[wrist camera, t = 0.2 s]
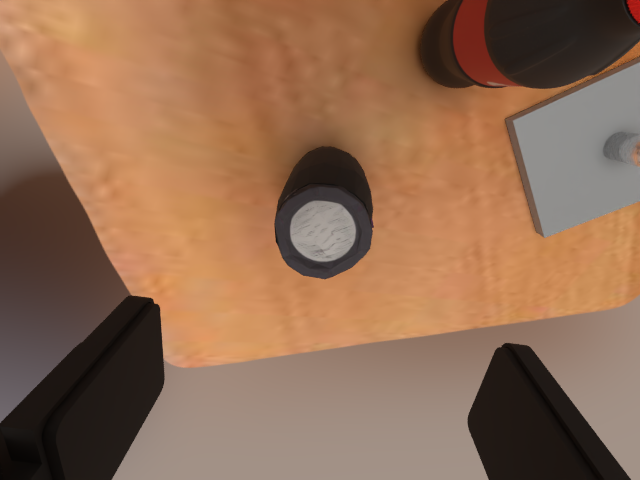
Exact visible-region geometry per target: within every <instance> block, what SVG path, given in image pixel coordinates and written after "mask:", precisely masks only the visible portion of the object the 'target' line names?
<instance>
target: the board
mask: <svg viewBox="0 0 640 480" xmlns="http://www.w3.org/2000/svg"><path fill="white" fill-rule="evenodd" d="M505 121H506V125H507V128H508V132H509V136H510V139H511V143H512V146H513V150H514V154H515V157H516V161H517V164H518V168H519V172H520V175H521V179H522V182H523V186H524V190H525V193H526V197H527V200H528V204H529V208H530V211H531V215H532V218H533V222H534V225H535V229H536V232H537V233H538V234H540V235H541V236H543V237H544V238H546V237H548V236H551V235H553V234H556V233H559V232H561V231H564V230H566V229H569V228H571V227H574V226H577V225H579V224H582V223H584V222H587V221H590V220H592V219H595V218H597V217H600V216H603V215H605V214H608V213H610V212H613V211H616V210H618V209H621V208H623V207H626V206H628V205H631V204H634V203H636V202H639V201H640V167H637V166H633V165H629V164H626V163H622V162H618V161H614V160H610V159H608V158H606V157H605V155H604V153H603V147H604V144H605V142H606V141H607V139H608V138H609V137H610V136H612V135H613V134H615V133H617V132H630V133H637V134H640V57H638V58H636V59H634V60H631V61H629V62H627V63H625V64H623V65H621V66H619V67H616V68H614V69H612V70H610V71H608V72H606V73H603V74H601V75H599V76H597V77H595V78H593V79H591V80H588V81H586V82H584V83H582V84H580V85H578V86H575V87H573V88H571V89H569V90H567V91H565V92H563V93H560V94H558V95H556V96H554V97H552V98H550V99H547V100H545V101H543V102H541V103H539V104H537V105H534V106H532V107H530V108H528V109H526V110H524V111H522V112H519V113H517V114H515V115H513V116H511V117H509V118H506V119H505Z"/></svg>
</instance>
